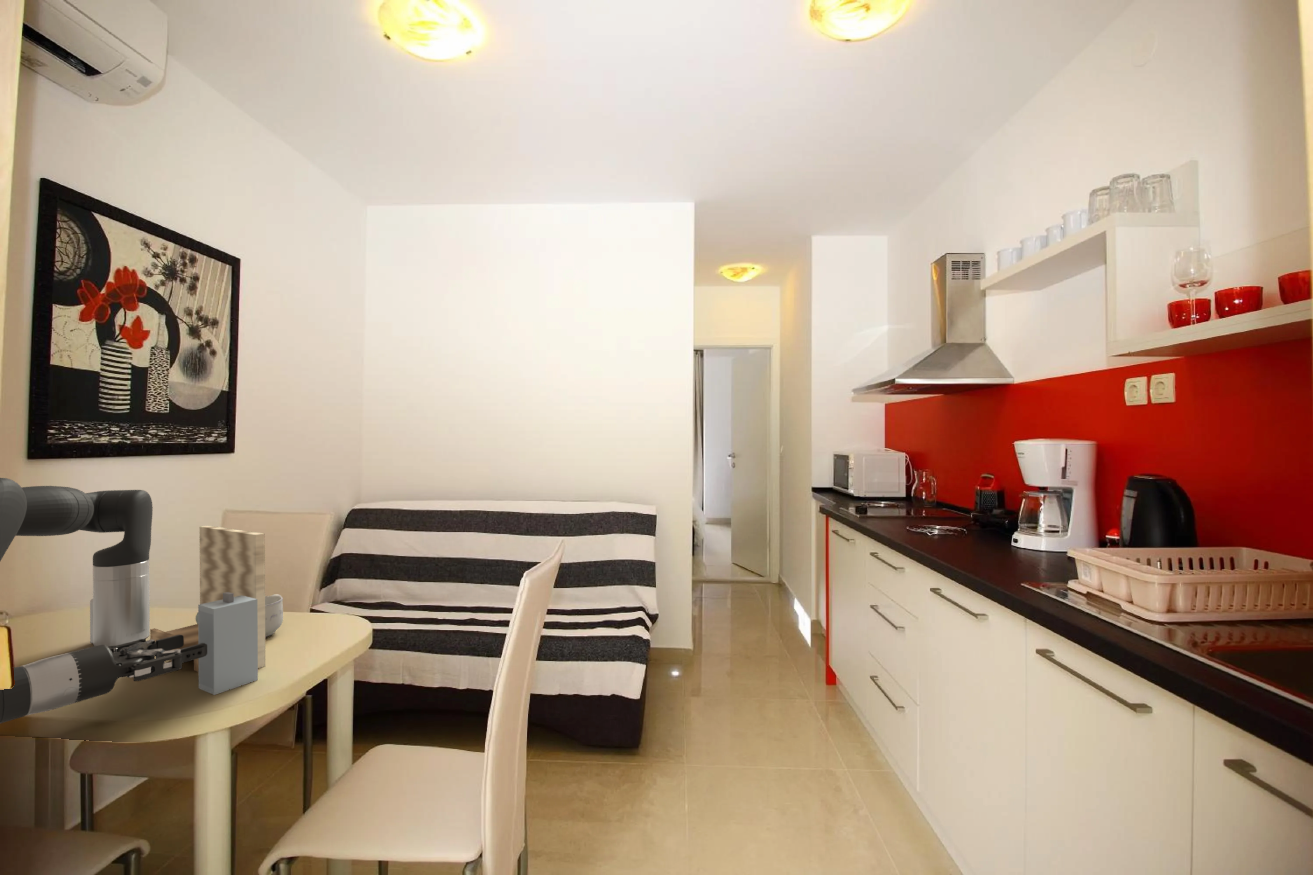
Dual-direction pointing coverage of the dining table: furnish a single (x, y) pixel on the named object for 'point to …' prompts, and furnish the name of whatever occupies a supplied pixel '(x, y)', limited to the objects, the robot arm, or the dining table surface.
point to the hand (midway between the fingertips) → (194, 644)
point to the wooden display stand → (228, 578)
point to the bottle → (228, 643)
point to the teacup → (273, 613)
